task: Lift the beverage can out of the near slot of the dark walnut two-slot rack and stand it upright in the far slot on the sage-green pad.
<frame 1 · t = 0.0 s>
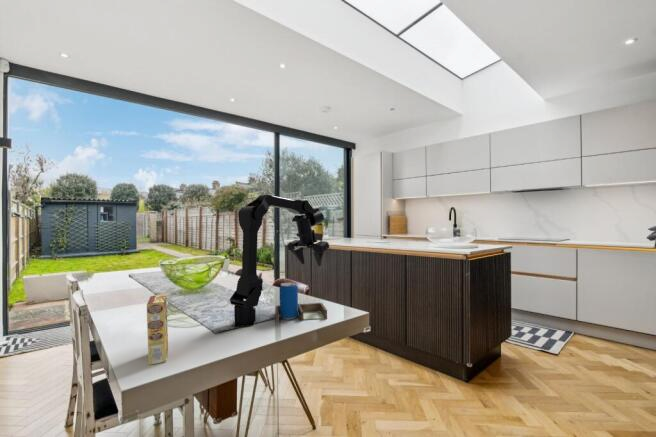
hand: (311, 265, 137), 15 cm above the table, tool pointing down, fingers open, 9 cm apart
candy box: (158, 357, 84), on the table
slot rack: (300, 316, 117), on the table
beverage can: (289, 318, 116), resting in slot rack
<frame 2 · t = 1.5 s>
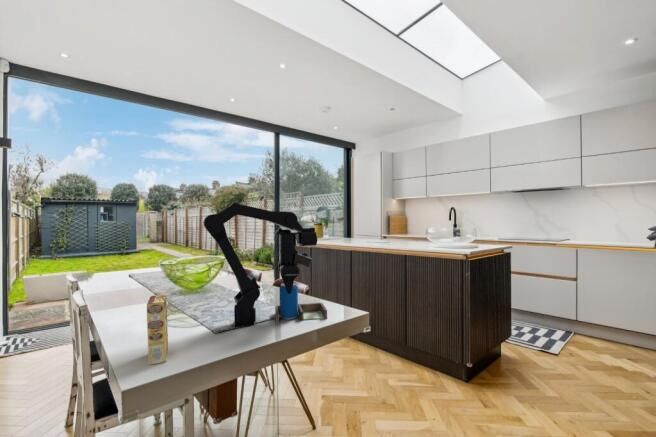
hand: (288, 290, 116), 10 cm above the table, tool pointing down, fingers open, 9 cm apart
nothing on the table moved.
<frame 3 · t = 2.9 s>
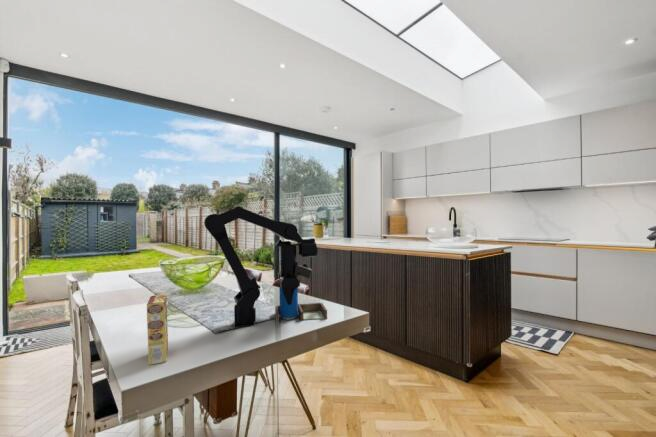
hand: (288, 302, 116), 6 cm above the table, tool pointing down, fingers closed on beverage can, 6 cm apart
beverage can: (289, 318, 116), resting in slot rack, touching gripper
everything else where it was.
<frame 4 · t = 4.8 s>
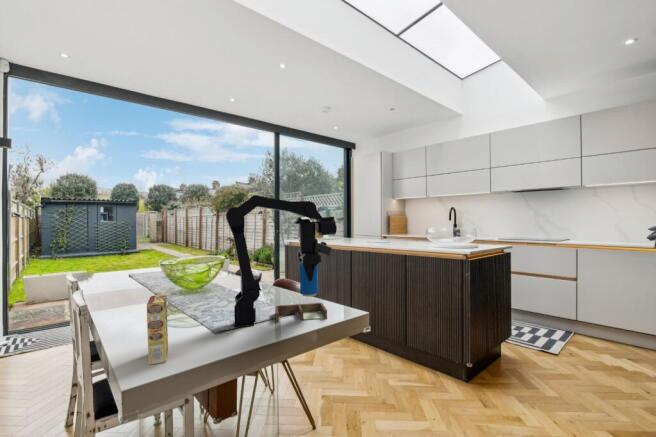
hand: (308, 279, 117), 13 cm above the table, tool pointing down, fingers closed on beverage can, 6 cm apart
beverage can: (309, 295, 118), point 7 cm above the table, touching gripper
everything else where it was.
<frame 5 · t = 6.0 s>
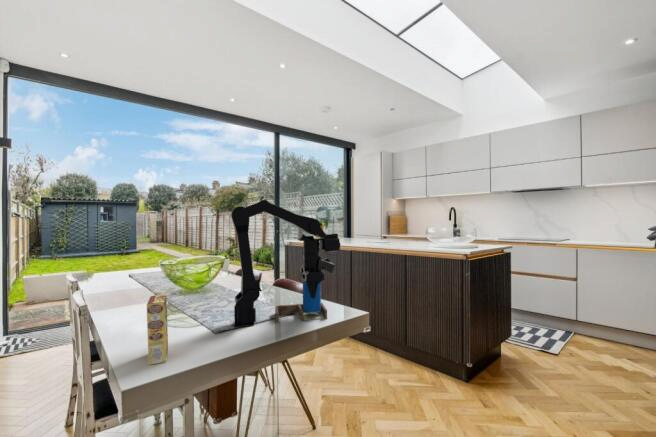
hand: (311, 296, 118), 7 cm above the table, tool pointing down, fingers closed on beverage can, 6 cm apart
beverage can: (311, 312, 118), point 1 cm above the table, touching gripper
everything else where it was.
when the fingers open (7 cm above the table, at t = 6.9 s): beverage can stays where it is, resting on slot rack.
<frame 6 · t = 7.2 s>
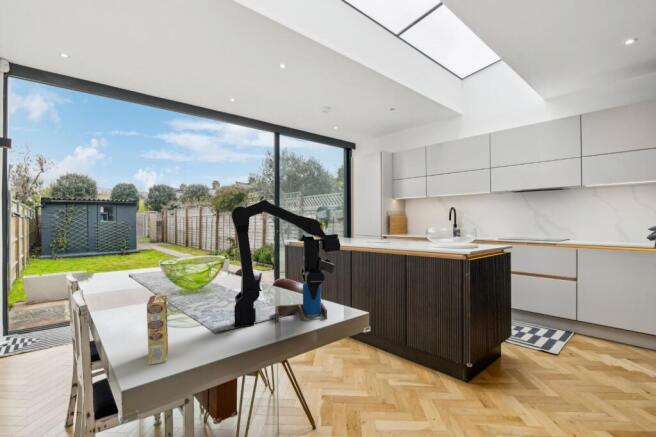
hand: (311, 296, 118), 7 cm above the table, tool pointing down, fingers open, 9 cm apart
beverage can: (312, 315, 118), resting on slot rack
everything else where it was.
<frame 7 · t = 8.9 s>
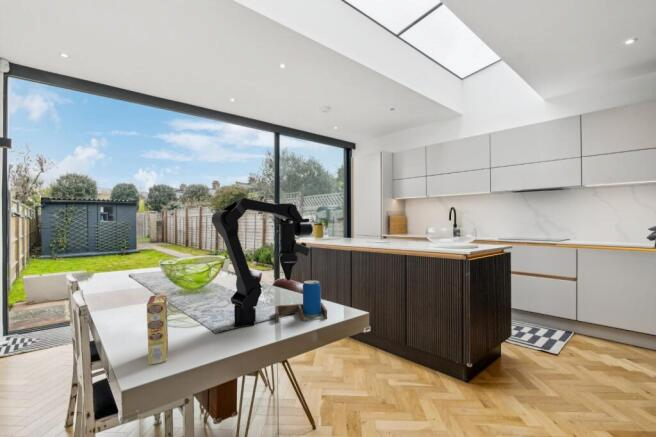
hand: (287, 278, 122), 13 cm above the table, tool pointing down, fingers open, 9 cm apart
nothing on the table moved.
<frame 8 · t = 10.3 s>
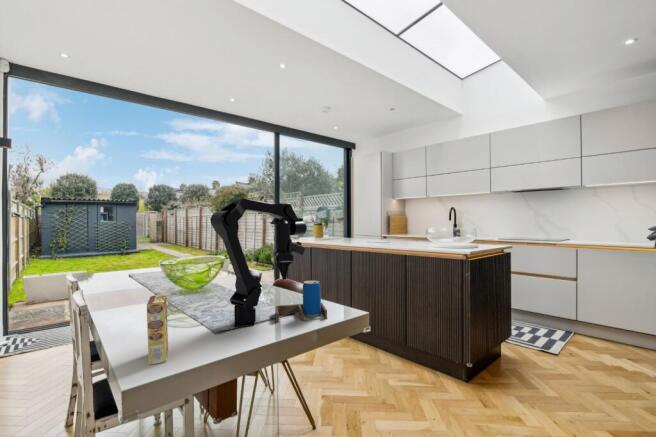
hand: (283, 277, 124), 13 cm above the table, tool pointing down, fingers open, 9 cm apart
nothing on the table moved.
at the end: beverage can 0.2 cm from the target spot on the slot rack, point 0.1 cm above the slot rack's base; beverage can tilted 0°; the gripper is holding nothing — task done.
